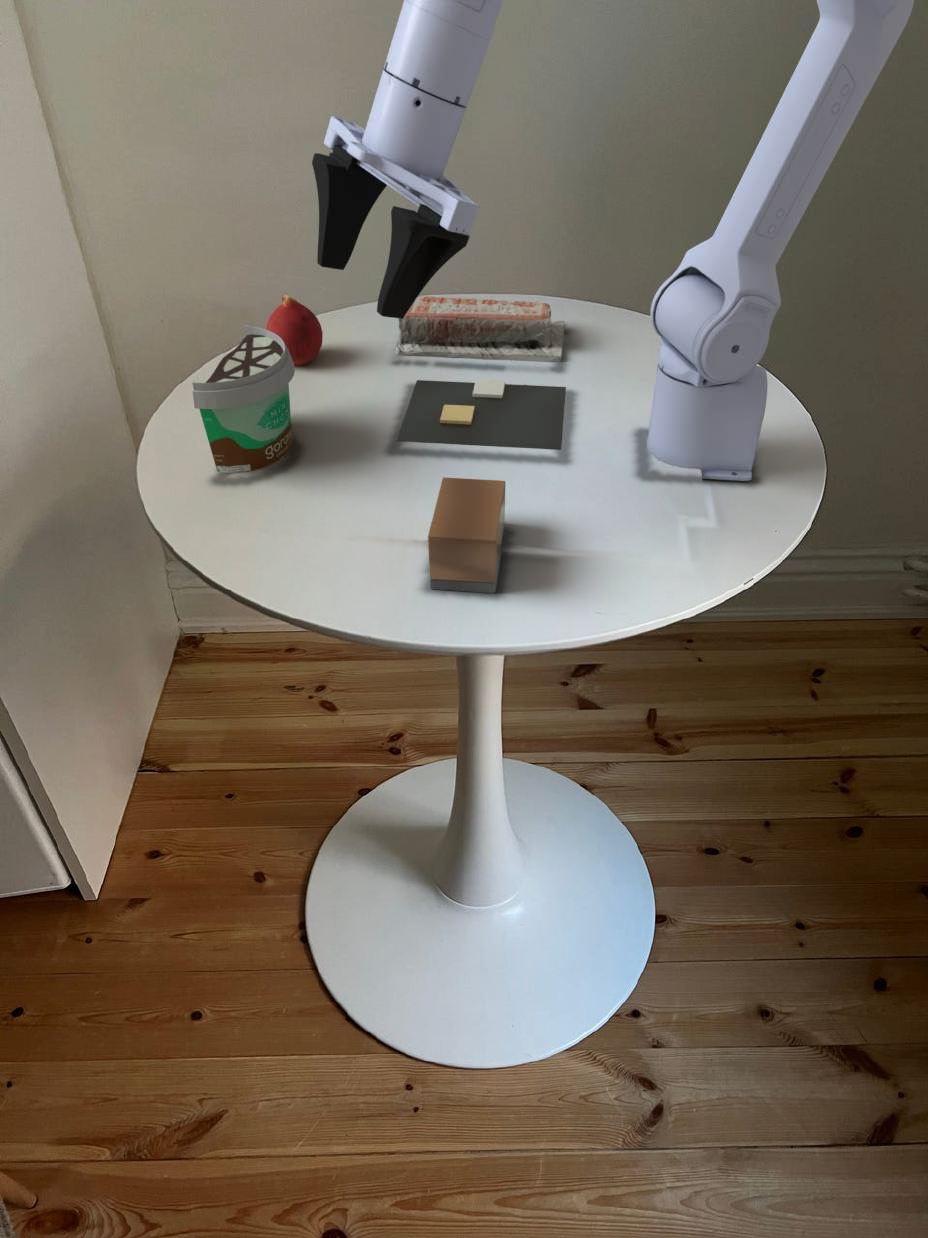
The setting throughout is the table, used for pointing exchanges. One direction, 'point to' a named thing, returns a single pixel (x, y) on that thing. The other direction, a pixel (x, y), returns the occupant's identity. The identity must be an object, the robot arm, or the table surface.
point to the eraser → (467, 535)
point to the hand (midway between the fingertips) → (359, 290)
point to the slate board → (486, 416)
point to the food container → (248, 403)
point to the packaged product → (480, 330)
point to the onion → (297, 330)
